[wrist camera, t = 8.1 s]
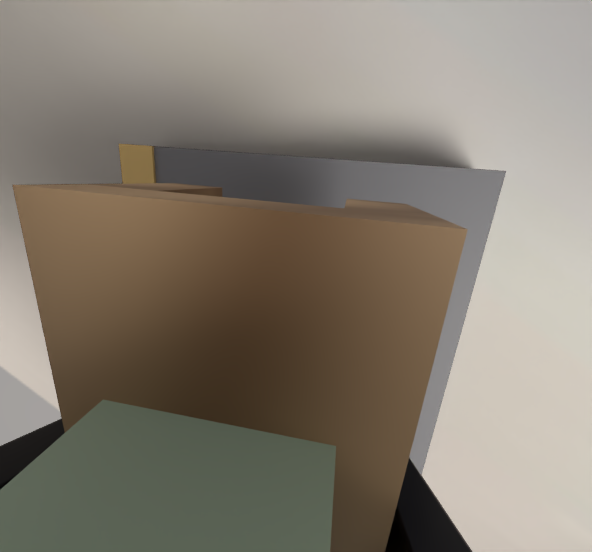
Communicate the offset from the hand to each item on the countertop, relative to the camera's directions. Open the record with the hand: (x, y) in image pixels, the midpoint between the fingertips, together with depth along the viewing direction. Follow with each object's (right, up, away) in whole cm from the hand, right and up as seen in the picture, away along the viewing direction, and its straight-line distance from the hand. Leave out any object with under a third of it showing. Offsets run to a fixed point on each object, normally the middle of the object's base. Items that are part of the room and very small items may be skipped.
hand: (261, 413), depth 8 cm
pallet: (0, 0, +1) cm, 1 cm away
